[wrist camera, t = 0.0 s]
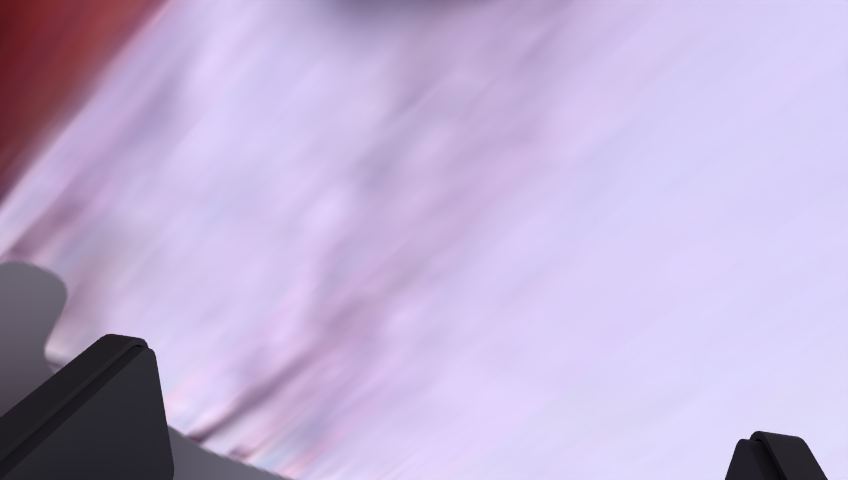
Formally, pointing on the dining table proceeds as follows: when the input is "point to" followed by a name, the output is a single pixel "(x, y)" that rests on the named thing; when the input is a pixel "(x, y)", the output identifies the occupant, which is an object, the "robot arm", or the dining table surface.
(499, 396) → the dining table surface
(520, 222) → the dining table surface
